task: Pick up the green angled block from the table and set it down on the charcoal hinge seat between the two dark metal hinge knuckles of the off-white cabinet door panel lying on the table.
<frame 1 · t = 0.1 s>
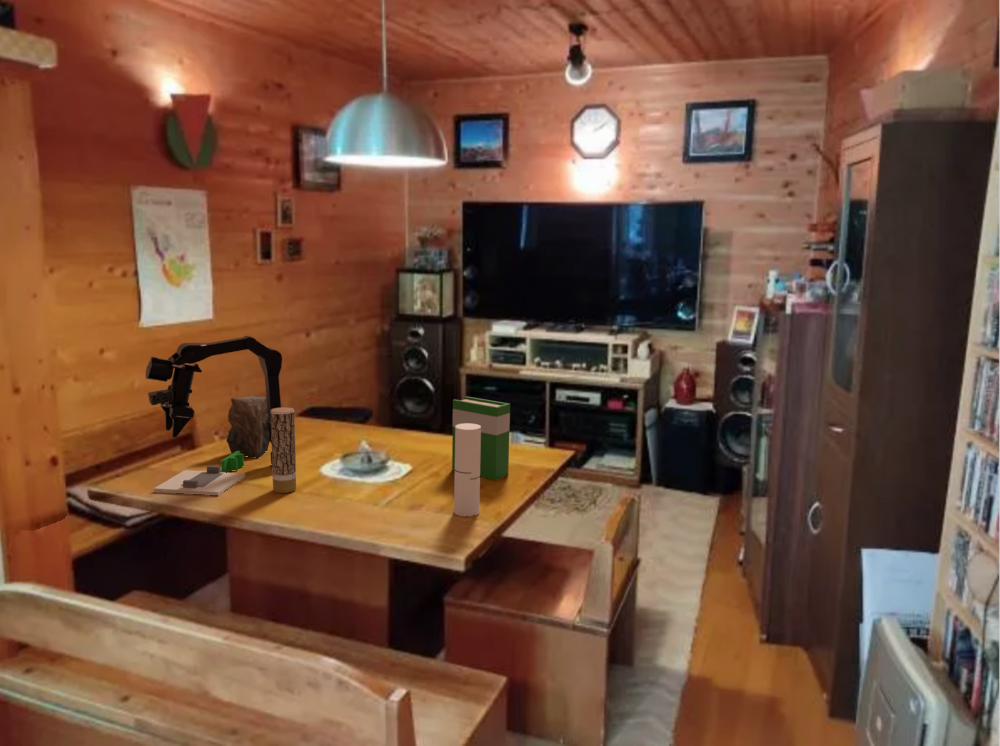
hand: (170, 433, 233), 15 cm above the table, tool pointing down, fingers open, 9 cm apart
cylindrical container: (466, 512, 216), on the table
hardback book: (479, 473, 252), on the table
grey brown rock block: (251, 454, 267), on the table
door panel: (201, 484, 234), on the table
green angled block: (234, 469, 250), on the table
bark textured cylinder: (284, 491, 230), on the table
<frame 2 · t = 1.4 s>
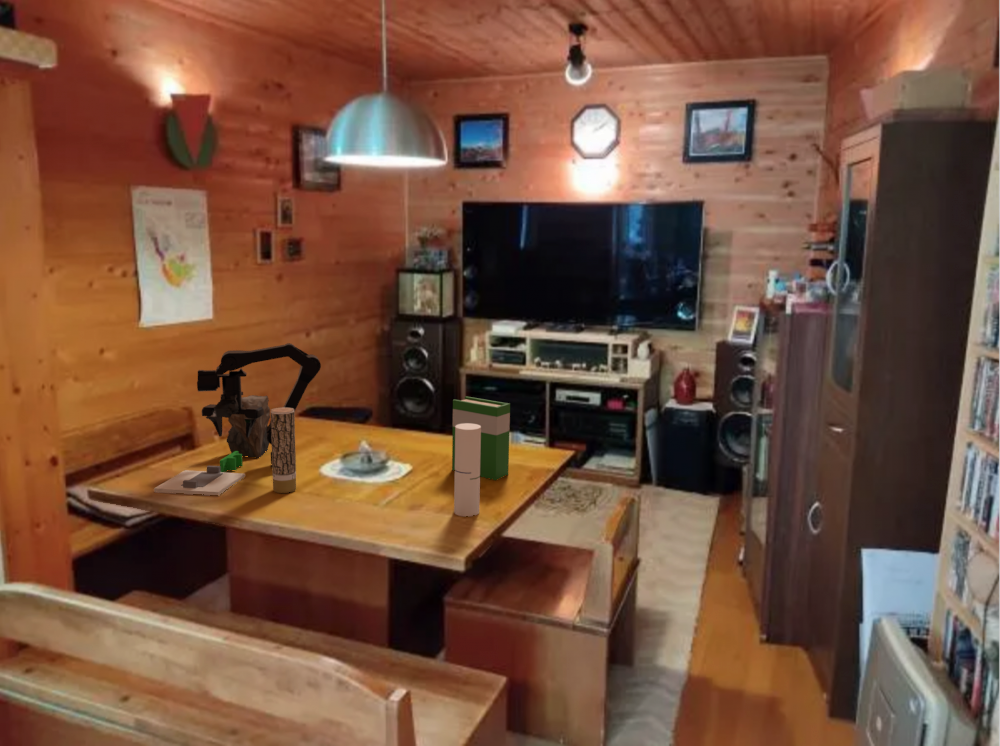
hand: (234, 436, 248), 11 cm above the table, tool pointing down, fingers open, 9 cm apart
nothing on the table moved.
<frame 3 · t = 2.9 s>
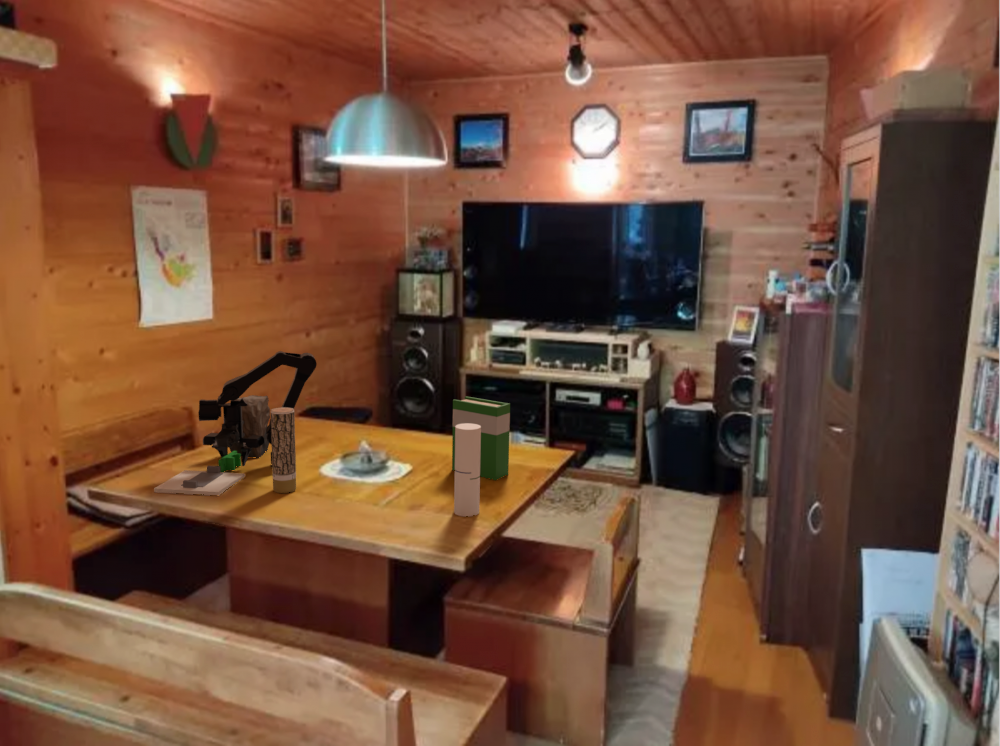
hand: (234, 465, 250), 1 cm above the table, tool pointing down, fingers open, 6 cm apart
green angled block: (231, 469, 250), on the table, touching gripper
everything else where it was.
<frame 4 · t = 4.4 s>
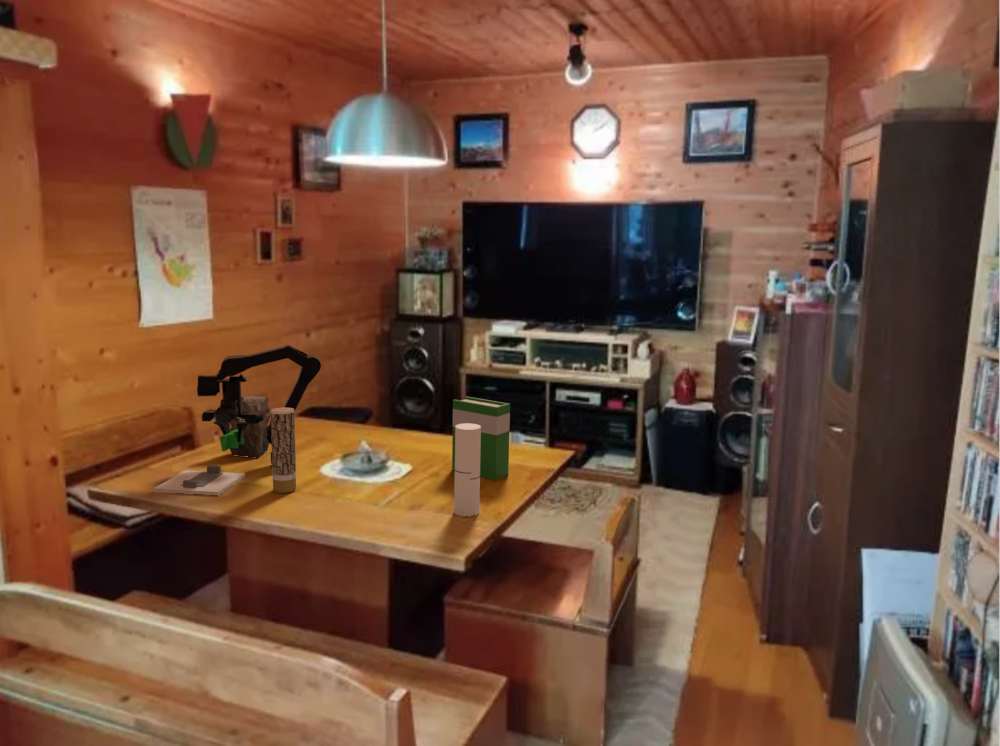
hand: (233, 442, 248), 9 cm above the table, tool pointing down, fingers closed on green angled block, 4 cm apart
green angled block: (235, 446, 249), point 7 cm above the table, touching gripper
everything else where it was.
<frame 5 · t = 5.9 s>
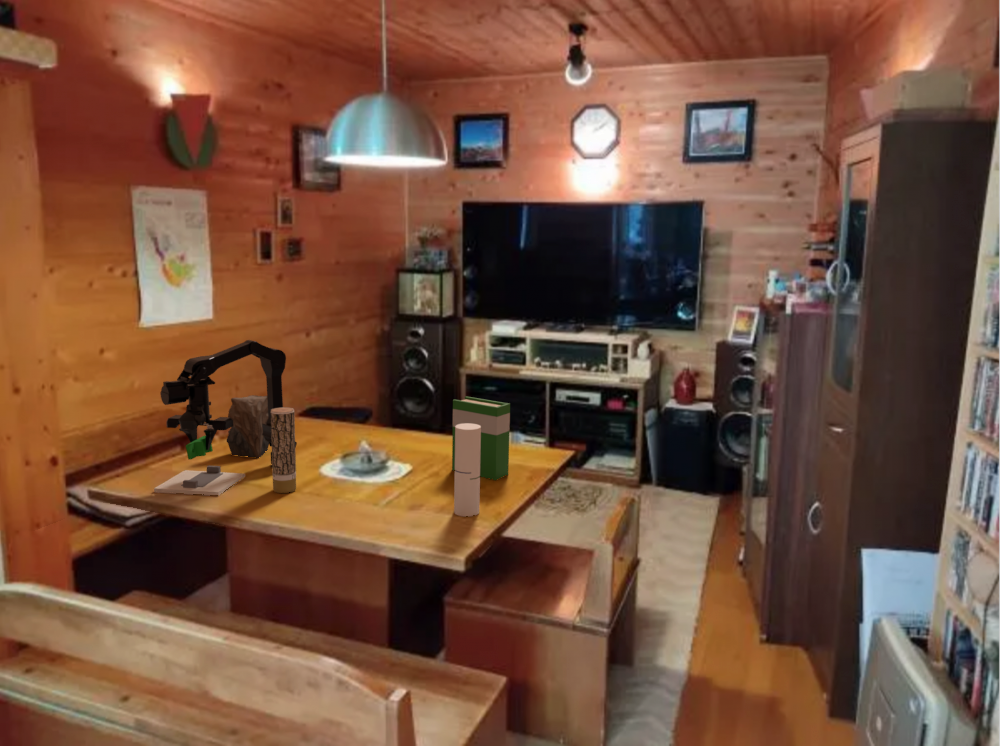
hand: (201, 449, 233), 11 cm above the table, tool pointing down, fingers closed on green angled block, 4 cm apart
green angled block: (202, 454, 233), point 9 cm above the table, touching gripper
everything else where it was.
when the fingers open (3 cm above the table, at t = 7.9 s): green angled block stays where it is, resting on door panel.
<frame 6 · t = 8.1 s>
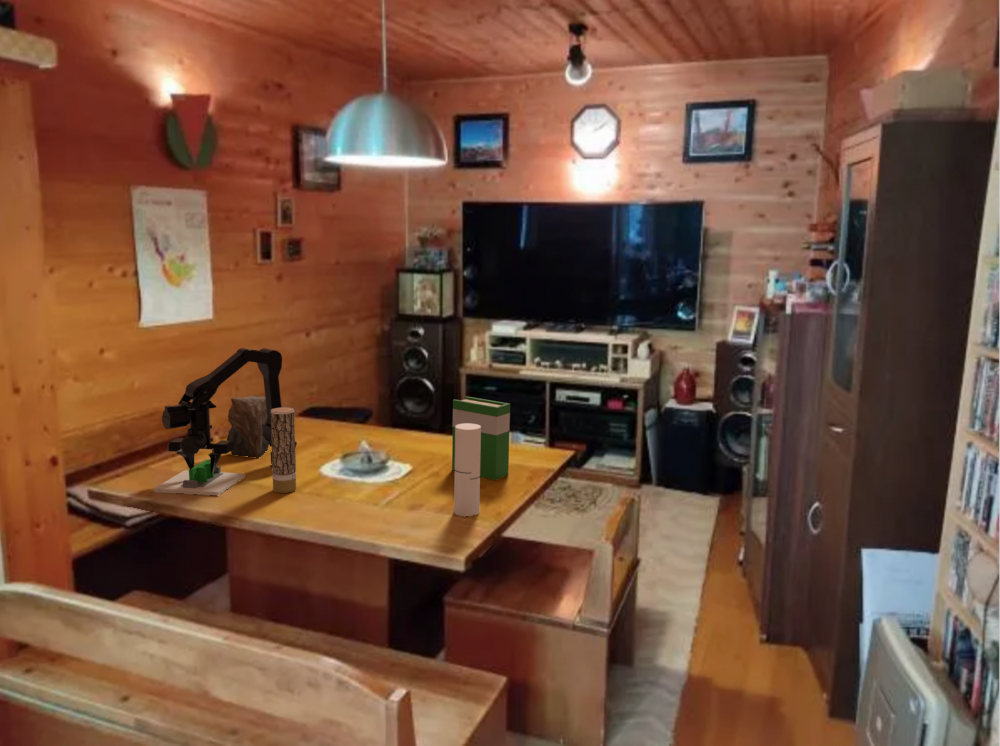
hand: (202, 472, 234), 3 cm above the table, tool pointing down, fingers open, 6 cm apart
green angled block: (203, 479, 234), point 1 cm above the table, touching door panel
everything else where it was.
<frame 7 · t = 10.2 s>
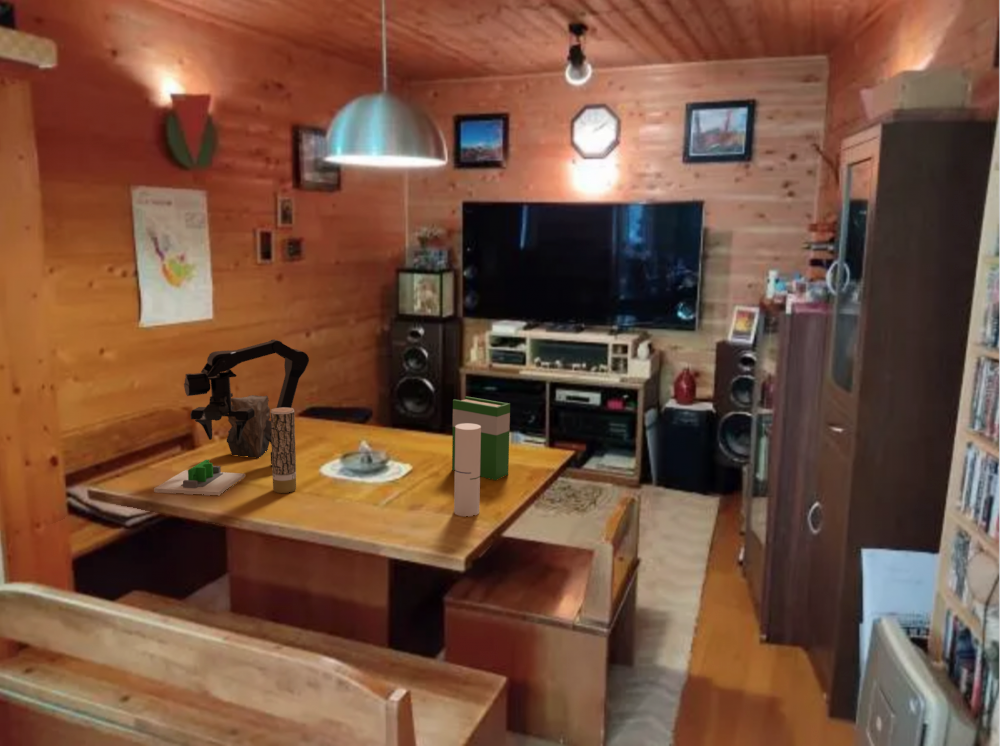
hand: (224, 439, 242), 12 cm above the table, tool pointing down, fingers open, 9 cm apart
nothing on the table moved.
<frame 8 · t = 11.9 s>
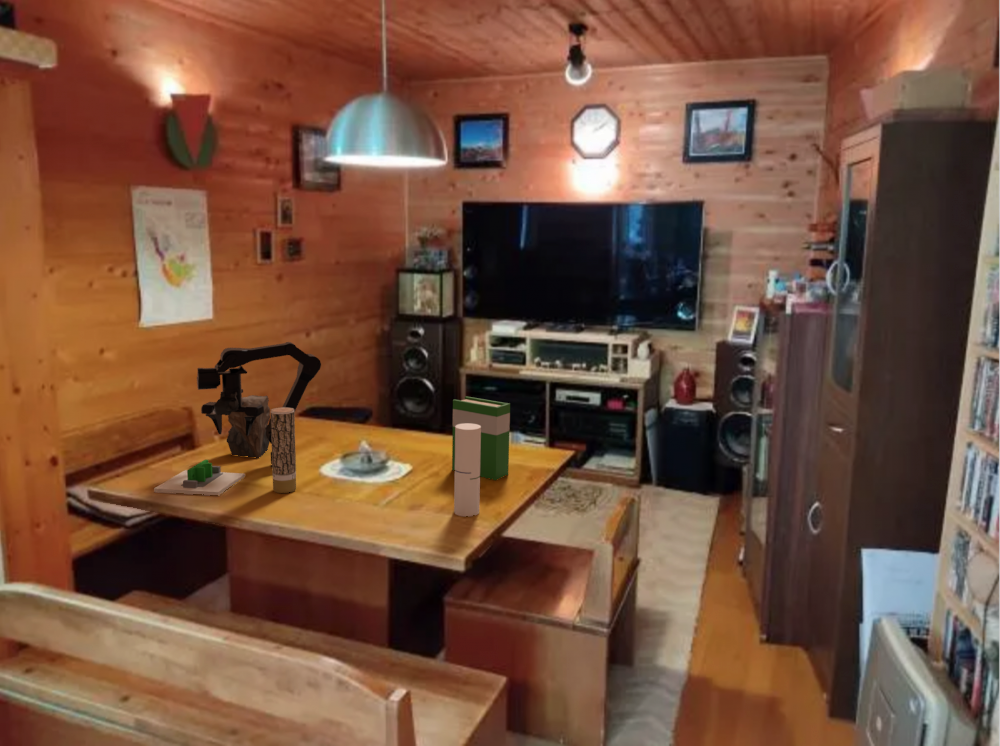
hand: (233, 434, 246), 12 cm above the table, tool pointing down, fingers open, 9 cm apart
nothing on the table moved.
at the end: green angled block 0.1 cm from the target spot, point 1.2 cm above the table; green angled block touching door panel; the gripper is holding nothing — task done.
